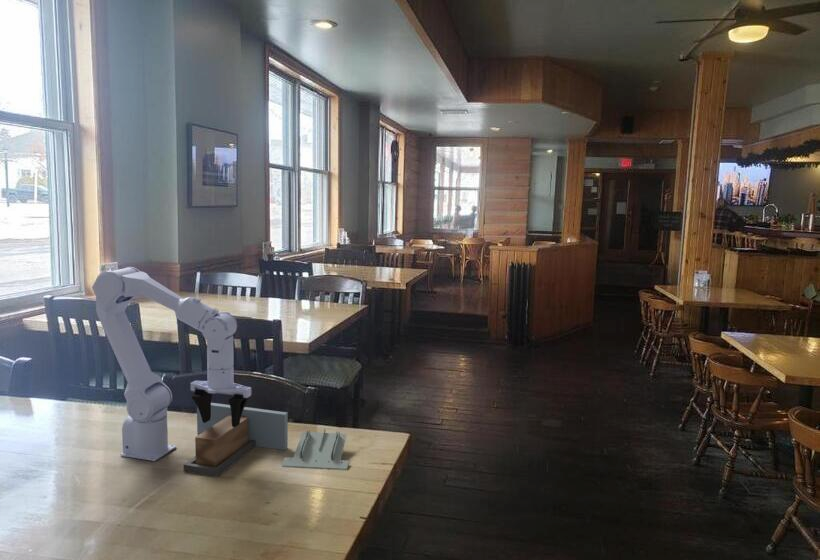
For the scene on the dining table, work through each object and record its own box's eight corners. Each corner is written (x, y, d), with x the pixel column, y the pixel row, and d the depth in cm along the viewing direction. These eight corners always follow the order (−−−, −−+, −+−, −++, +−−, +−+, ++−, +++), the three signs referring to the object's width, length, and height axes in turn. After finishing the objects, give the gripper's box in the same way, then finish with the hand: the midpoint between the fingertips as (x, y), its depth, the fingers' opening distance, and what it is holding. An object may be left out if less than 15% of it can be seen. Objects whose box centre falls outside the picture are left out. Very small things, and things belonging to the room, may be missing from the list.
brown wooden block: (195, 467, 128) (195, 437, 128) (229, 442, 142) (229, 415, 141) (215, 470, 127) (215, 440, 126) (248, 444, 141) (247, 417, 140)
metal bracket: (294, 423, 142) (355, 426, 141) (296, 442, 144) (355, 444, 144) (279, 463, 129) (345, 467, 128) (281, 483, 131) (346, 487, 131)
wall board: (153, 466, 129) (152, 427, 128) (201, 435, 146) (200, 401, 145) (249, 481, 123) (249, 441, 122) (287, 447, 141) (287, 412, 139)
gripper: (181, 368, 129) (182, 425, 131) (239, 374, 126) (240, 433, 127) (200, 359, 136) (201, 414, 138) (255, 366, 132) (256, 422, 134)
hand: (221, 423), depth 133 cm, fingers open, 7 cm apart
